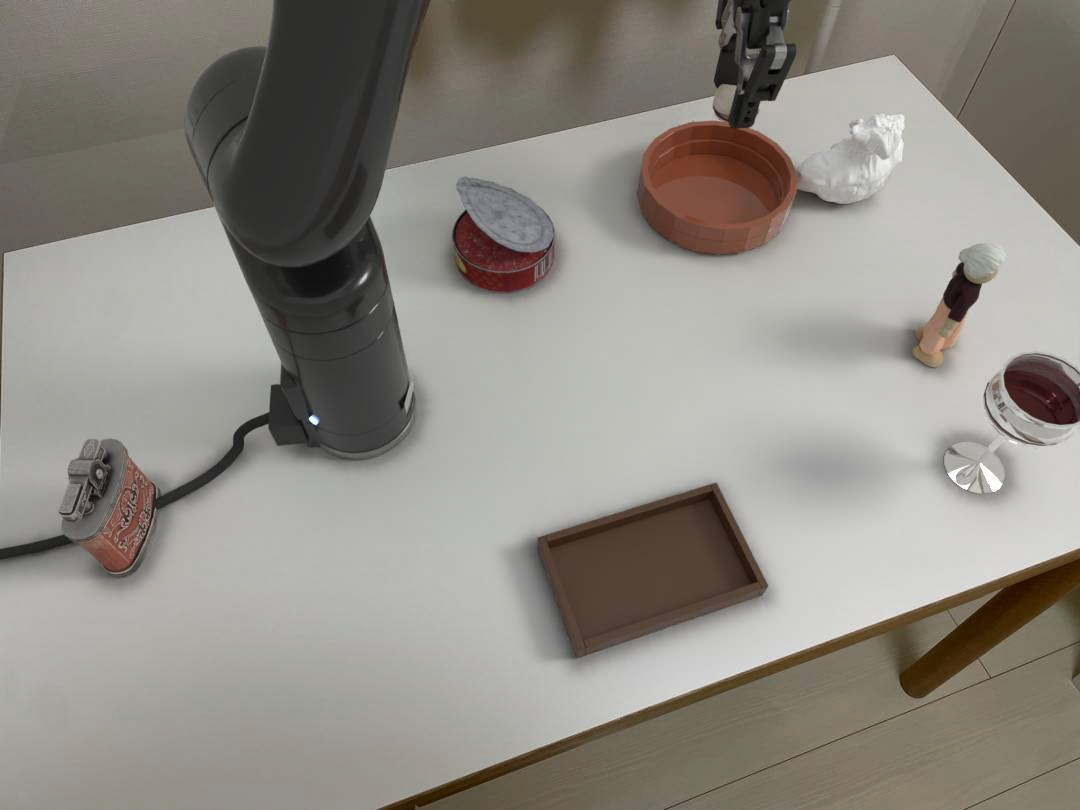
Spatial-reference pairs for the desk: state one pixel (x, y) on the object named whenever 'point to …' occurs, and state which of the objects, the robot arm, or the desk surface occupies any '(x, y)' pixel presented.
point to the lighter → (109, 506)
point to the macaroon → (724, 101)
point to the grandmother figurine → (957, 301)
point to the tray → (649, 568)
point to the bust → (855, 161)
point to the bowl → (716, 187)
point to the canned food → (501, 238)
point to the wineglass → (1020, 416)
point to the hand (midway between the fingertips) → (732, 104)
